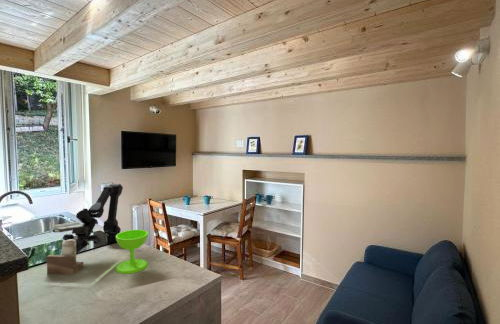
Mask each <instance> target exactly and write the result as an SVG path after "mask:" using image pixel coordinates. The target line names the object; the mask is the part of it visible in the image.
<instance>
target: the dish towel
mask: <svg viewBox="0 0 500 324" xmlns="http://www.w3.org/2000/svg"><path fill="white" fill-rule="evenodd" d="M82 226H83V224H82V223H81V222H80V221H74V222H66V223H64V222H63V223H60V224H53V225H51V229H52V230H53V232H54V233H60V232H66V231H71V230H72V231H73V228H80V227H82Z"/></svg>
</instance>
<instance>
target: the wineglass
mask: <svg viewBox="0 0 500 324" xmlns="http://www.w3.org/2000/svg"><path fill="white" fill-rule="evenodd" d="M148 236H149V232H148V231H147V230H144V229H130V230H129V229H128V230H125V231H122V232H121V231H120V233H118V234H117V235H116V241H117V242H116V244H117V245H118V246H119V247H120V248H122V249H124V250H128V251H130V253H129V254H130V255H129V256H130V257H129V260H128V259H127V260H125V261H122V262H120V263H119V264H118V265H116V267H115V271H116V272H117V273H118V274H125V275H130V274H135V273H139V272H141V271H143V270H145V269H146V268H148V264H149V263H148V262H147V260H145V259H140V258H135V250H137V249H139V248H140V247H142V246H143V245H144V244H145V242H146V241H147V239H148Z"/></svg>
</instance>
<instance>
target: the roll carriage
mask: <svg viewBox="0 0 500 324" xmlns="http://www.w3.org/2000/svg"><path fill="white" fill-rule="evenodd" d="M61 255H62V256H75V266H76V265H77V264H79V263H80V262H81V261H77V254H76V240H75V239H70V240H63V241H62V242H61Z"/></svg>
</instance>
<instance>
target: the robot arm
mask: <svg viewBox="0 0 500 324" xmlns="http://www.w3.org/2000/svg"><path fill="white" fill-rule="evenodd" d="M123 189H124V187H123V185H122V184H121V183H110V185H105V186H103V189H102V191H101V193H100V195H99V196H98V198H97V200H96V202H95V203H93V204H92V205H91V206H90V207H89V208H82V209H81V210H80V211H78V212H77V213H76V216H75V217H76V219H78V221H79V222H80V223H81V224H82V227H80V228H73V230H72V231H71V234H69V233H68V234H67V233H66V234H64V235H63V236H62V238H61V239H62V240H63V241H65V240H70V239H75V240H76V255H77V254H78V253H79V252H81V251H82V250H84V248H85V247H87V246H89V245H90V242H93V244H94V245H99V244H101V241H102V239H101V238H100V236H98V235H97V234H93V233H94V228H95V227H96V225H98V224H99V221H98V219H99V218H102V216H103V214H104V211H105V205H106V204H107V201H108V199H109V204H108V206H109V207H108V213H107V214H108V215H107V218H106V220H104V221H103V233H104V234H106V236H105V242H106V244H108V245H111V244H115V243H116V244H117V241H116V235H117V234H119V233H121V227H120V226H119V221H118V219H117V215H118V214H117V213H118V212H117V211H118V204H119V203H118V202H119V197H120V196H121V195H122V192H123ZM73 234H75V236H74V235H73ZM91 234H92V235H91Z"/></svg>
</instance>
